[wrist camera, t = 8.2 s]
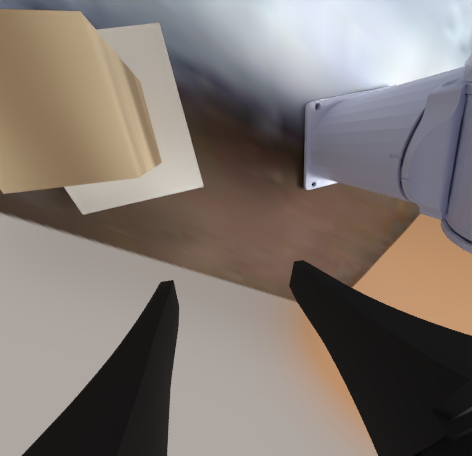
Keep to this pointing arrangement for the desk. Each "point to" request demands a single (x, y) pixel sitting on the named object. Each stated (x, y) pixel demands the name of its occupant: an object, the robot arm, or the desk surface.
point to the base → (162, 119)
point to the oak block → (67, 105)
